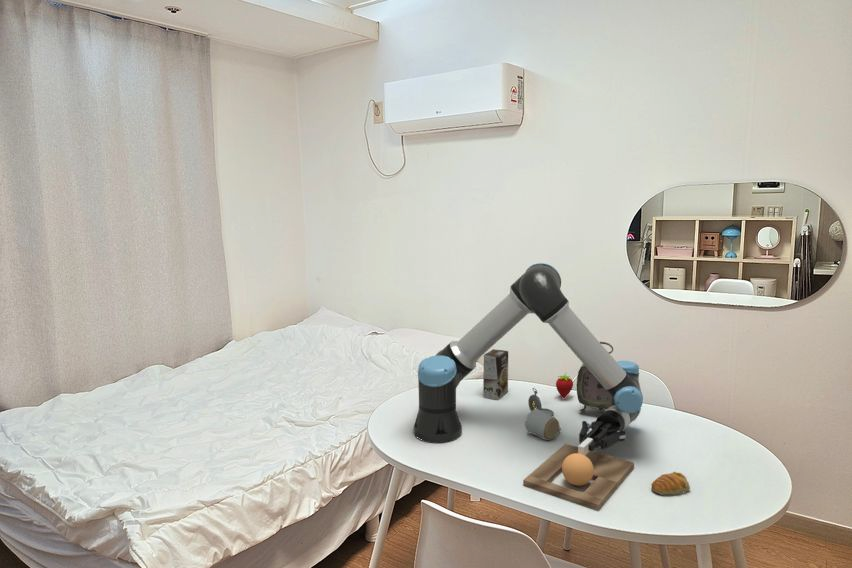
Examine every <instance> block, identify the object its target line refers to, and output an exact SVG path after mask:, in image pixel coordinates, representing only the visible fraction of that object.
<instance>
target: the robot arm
mask: <svg viewBox="0 0 852 568" xmlns="http://www.w3.org/2000/svg"><path fill="white" fill-rule="evenodd" d="M561 287H562V278H561V274H560V273H559V271H558V270H557V269H556V268H555V267H554V266H552V265H551V264H549V263H544V262H539V263H535V264H532V265H530V266H529V267H528V268H527V269H526V270H525V272H524V273H523V274H521V276H520V277H519V278H518V279H516V280H515V282H513V283H512V284H511V285H510V287H509V294H508V295H506V296H505V297H504V298H503V299H502V301H500V302H499V303H498V304H497V305H496V306H495V307H494V308H492V309H491V310H490V311H489V312H488V313H487V314H486V315H485V316H484V317H483V318H482V319H480V321H478V323H476V324H475V325H474V326H473V327H472V328H471V329H470V330H469V331H467V333H465V335H463V336H462V337H461V338H460V339H459V340H458V341H457V340H452V341H450V342H449V343H448V344H447V345H446V346H445V347H444V348H443V349H441V350H439V351H437V352H436V354H435V355H432V356H429V357H425V358H424V359H422V360H421V361H420V363H419V364H418V369H417V379H418V382H417V383H418V384H417V385H418V412H417V415H416V416H415V417H416V418H415V420H414V424H413V435H414V434H415V435H414V436H415V437H416V438H417V437H418V438H420V439H422V440H421V441H423V440H424V442H426V441H428V442H427V443H433V442H437V444H440V443H442V444H443V443H449V442H452V441H455V440H458V439H459V438H460V437H461V436H462V433H463V431H462V430H463V428H462V427H463V426H462V423H461V420H460V416H459V414H458V412H457V411H458V410H457V388H458V386H459V384H460V383H461V382H462V381H463V379H464V378H466V377H468V375H469V374H470V373H471V372H473V370H474V369H476V368H477V360H479V359H480V358H481V357H482V356H484V355H485V354H486V353H487V352H488V351H489V350H490V349H491V348H492V347H493V346H494V345H495V344H497V342H499V341H500V340H501V339H502V338H503V337H504V336H505V335H507V334H508V333H509V332H510V331H511V330H512V329H513V328H514V327H515V326H516V325H517V324H518V323H520V322H521V321H522V320H523V319H524V318H526V316H527V315H529V314H535V315H536V317H537V318H538V319H539V320H540V321H541V322H542V323H544V324H548V325H549V326H550V327H551V328H552V329H553V331H554V332H555V333H556V334H557V335H558V336H559V338H560V339H561V340H562V341H563V342H564V343H565V345H566V346H567V347H568V348H569V349H570V350H571V351H572V352H573V353H574V355H575V356H576V357H577V358H578V359H579V361H580V362H581V363H582V364H584V365H585V366H586V367H587V368H588V370H589V371H590V372H591V373H592V374H593V375H594V377H595V378H596V379H597V380H598V381H599V382H600V383H601V385H602V386H603V387H604V388H605V389H606V390H607V392H608V393H609V394H610V395H611V397H612V404H611V406H610V407H609V408H608V409H604V410H603V411H602V413H601V414H600V415H598V417H597V418H596V420H595V421H592V422H591V423H588V422H587V421H586V420H583V421H582V422H581V429H580V432H579V433H578V437H579V438H578V443H579V445H578V446H577V447H578V453H579V454H583V455H586V454H587V453H588V452H589V451H595V450H596V449H598V448H600V449H602V450H605V449H608V448H609V447H612V446H614V445H615V444H618V443H619V442H624V441H626V431H625V430H626V429H627V428H628V427H629V425H630V424H631V423H632V422H634V421H636V419H637V418H638V417H639V415H640V413H641V411H642V407H643V403H644V401H643V400H644V396H643V395H644V394H643V393H642V390H641V386H640V381H639V380H640V379H639V377H640V366H639V364H638V363H636V362H634V361H630V360H616V359H615V358H614V357H613V356H612V355H611V353H610V354H609V353H608V352H609V351H608V350H607V349H606V348H605V347H604V345H603V344H601V343H600V342H601V341H599V340H598V338H596V336H595V335H594V334H593V333H592V332H591V331H590V329H589V328H588V327H587V326H586V325H585V324H584V323H583V321H582V320H581V319H580V318H579V317H578V316H577V314H576V313H575V312H574V311H573V310H572V308H570V301H569V299H567V298H566V296H565V294H564V293H563V292H562V290H561ZM590 429H591V430H590ZM418 438H417V439H418ZM420 439H419V440H420Z"/></svg>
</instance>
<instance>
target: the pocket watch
mask: <svg viewBox="0 0 852 568" xmlns="http://www.w3.org/2000/svg"><path fill="white" fill-rule="evenodd" d="M532 391H533V394H532V395H530V396H529V397H528V408H529V411H530V412H531V411H532V410H534V409H539V410H541V411H543V412H545V413H547V414H549V415H551V416H553V417H554V411H553V410H552V409H549V408H543V407H542V406H543V405H542V402H541V400H540V397H539V396H538V395H537V394H538V391H537V389H536V388H532Z"/></svg>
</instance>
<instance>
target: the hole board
mask: <svg viewBox="0 0 852 568" xmlns="http://www.w3.org/2000/svg"><path fill="white" fill-rule="evenodd" d="M575 453H578V446H576V445H572V444H569V443H564V444H563V445H562V446H561V447H560V448H558V449H557V450H556V451H555V452H554V453H553V454H552V455H550V456H549V457H548V458H547V459H546V460H545V461H544V462H542V463H541V464H540V465H539V466H538V467H536V468H535V469H534V470H533V471H532V472H531V473H529V474H528V475H527V476H526V477H525V478H524V479H523V481H522V482H523V483H522V486H524V487H527V488H530V489H532V490H536V491H539V492H542V493H544V494H548V495H551V496H554V497H555V498H559V499H562V500H566V501H568V502H571V503H574V504H576V505H577V504H578V505H580V506H582V507H586V508H589V509H592V510H595V511H599V510H600V509H602V507H603V506H604V505H605V503H606V502H607V501H608V500H609V498H610V497H611V496H612V495H613V494H614V492H615V491H616V490H617V489H618V487H619V486H620V485H621V484H622V483H623V482H624V481H625V479H626V478H627V476H629V474H630V473H631V471H632V470H634V468H635V462H633V461H629V460H626V459H623V458H620V457H616V456H612V455H609V454H604V453H600V452H597V451H595V450H593V451H589V452H588V453H587V454H586V455H585V456H586V457H588V458H589V459H590V461H591V462H592V464H593V468H594V474H593V477H592V479H591V480H590V481H593V482H592V483H591V484H590V485H589V486H588V487H587V488H586V489H585V490H584V492H581V491H578V490H575V489H572V488H569V487H566V486H563V485H560V484H557V483H553V480H555V479H556V478H557V477H558V476H559V475H560V474H561V473H562V464H563V461H564V460H565V458H566V457H567V456H569V455H571V454H575Z"/></svg>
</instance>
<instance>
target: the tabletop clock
mask: <svg viewBox="0 0 852 568" xmlns="http://www.w3.org/2000/svg"><path fill="white" fill-rule="evenodd" d="M599 342H600V343H601V344H602V345H606V346H609V347H610V349H611V351H608V353H609V354H610V355H611V354H612V353H613V352H614V347H613V345H611V343H608V342H605V341H599ZM576 397H577V400H578V402H579V404H581V405H583V408H581V409H579V413H580V414H582V415H583V414H585V412H586V410H585V409H586V408H587V407H589V408H595V409H597V410H598V412H604V410H606V409H608V408H609V407H610V406H611V404H612V397H611V395H610V394H609V393H608V392H607V390H606V389H605V388H604V387H603V386H602V385H601V383H600V382H599V381H598V380H597V379H596V378H595V377H594V375H593V374H592V373H591V372H590V371H589V370H588V368H587V367H586V366H585V365H584V364H583V363H582V365H581V366H580V368H579V369H578V373H577V377H576Z"/></svg>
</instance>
